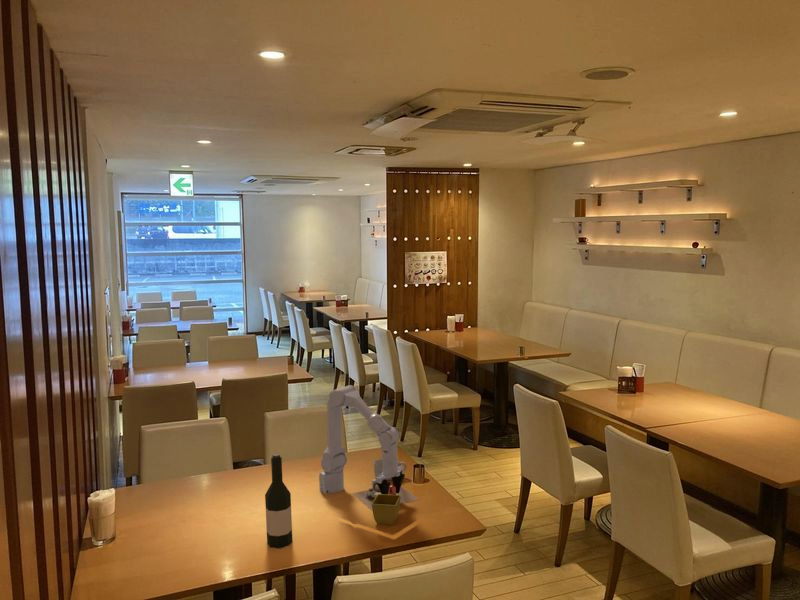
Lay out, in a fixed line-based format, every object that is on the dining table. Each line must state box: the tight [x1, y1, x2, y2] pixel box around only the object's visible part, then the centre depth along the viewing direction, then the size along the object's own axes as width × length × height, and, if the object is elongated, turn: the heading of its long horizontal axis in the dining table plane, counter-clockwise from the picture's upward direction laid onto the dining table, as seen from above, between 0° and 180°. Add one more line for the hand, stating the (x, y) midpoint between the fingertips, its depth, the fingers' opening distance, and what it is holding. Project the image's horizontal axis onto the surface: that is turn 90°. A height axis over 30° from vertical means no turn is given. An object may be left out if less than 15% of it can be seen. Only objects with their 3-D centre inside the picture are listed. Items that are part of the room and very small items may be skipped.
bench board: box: [351, 483, 421, 512], centre depth 235 cm, size 20×19×1 cm
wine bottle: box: [264, 453, 293, 549], centre depth 201 cm, size 8×8×30 cm
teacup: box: [373, 458, 408, 482], centre depth 255 cm, size 14×11×8 cm
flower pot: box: [371, 494, 401, 526], centre depth 213 cm, size 9×9×9 cm
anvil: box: [371, 478, 377, 491], centre depth 242 cm, size 4×2×4 cm, turn 108°
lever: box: [366, 484, 396, 498], centre depth 232 cm, size 13×3×6 cm, turn 57°
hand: (391, 495), depth 229 cm, fingers open, 6 cm apart
